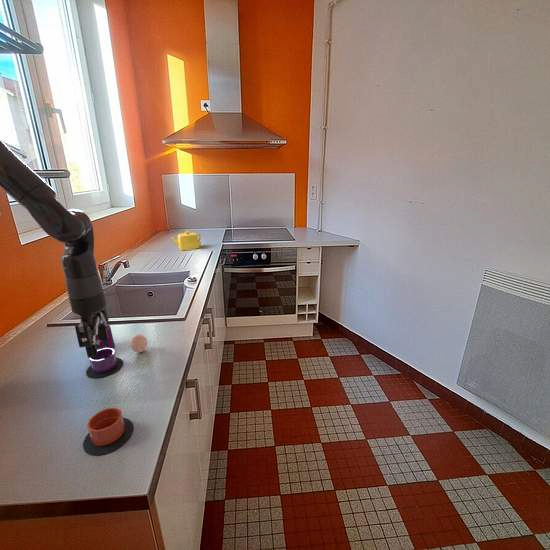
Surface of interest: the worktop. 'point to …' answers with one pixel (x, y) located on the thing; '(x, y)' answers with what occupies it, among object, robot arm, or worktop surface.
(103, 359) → the plum dish
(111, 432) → the clay dish
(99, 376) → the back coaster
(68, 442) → the worktop surface
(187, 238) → the teapot
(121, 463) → the worktop surface
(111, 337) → the mug
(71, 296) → the robot arm
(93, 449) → the front coaster
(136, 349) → the egg
